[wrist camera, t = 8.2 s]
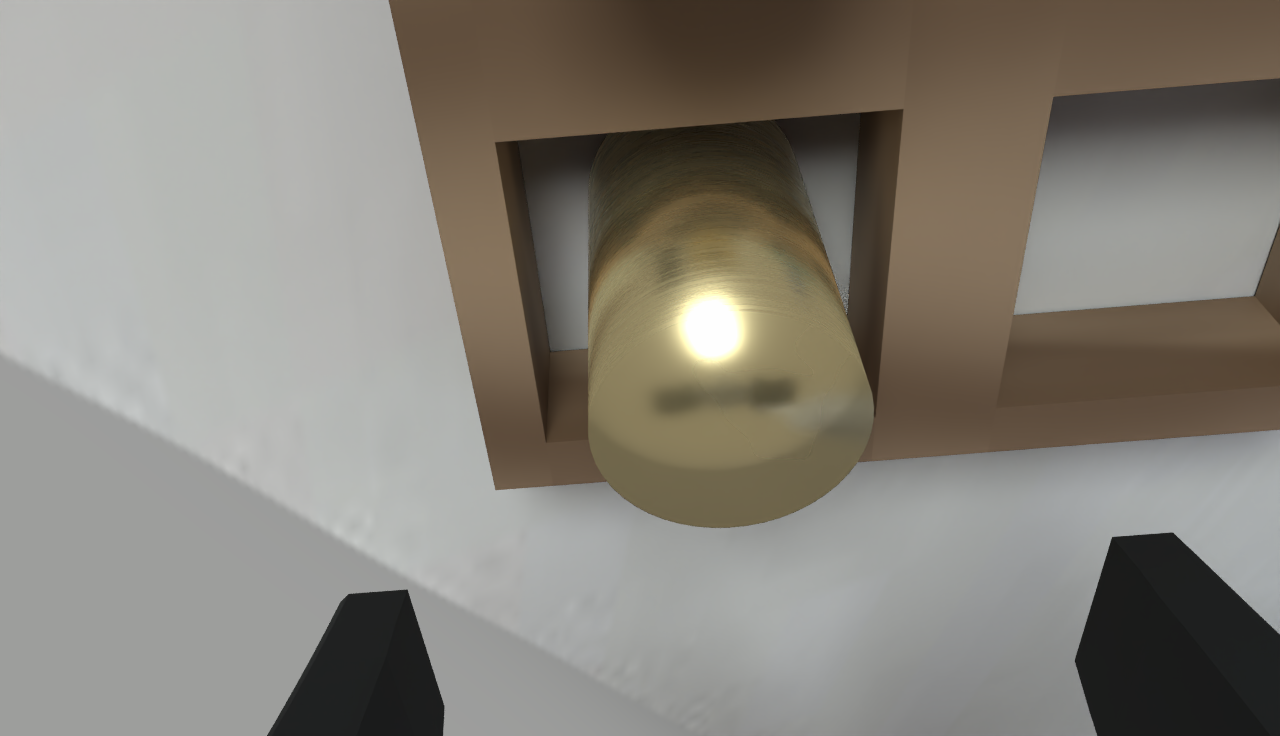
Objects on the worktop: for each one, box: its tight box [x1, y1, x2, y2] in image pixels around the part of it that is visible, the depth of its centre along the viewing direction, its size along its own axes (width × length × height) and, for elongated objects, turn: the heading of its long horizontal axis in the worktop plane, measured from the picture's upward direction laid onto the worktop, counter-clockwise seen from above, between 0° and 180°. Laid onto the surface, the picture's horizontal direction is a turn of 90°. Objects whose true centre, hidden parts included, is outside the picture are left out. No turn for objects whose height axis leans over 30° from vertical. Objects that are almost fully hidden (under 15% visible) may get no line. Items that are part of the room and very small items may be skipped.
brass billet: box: [588, 120, 874, 528], centre depth 15 cm, size 4×4×6 cm
